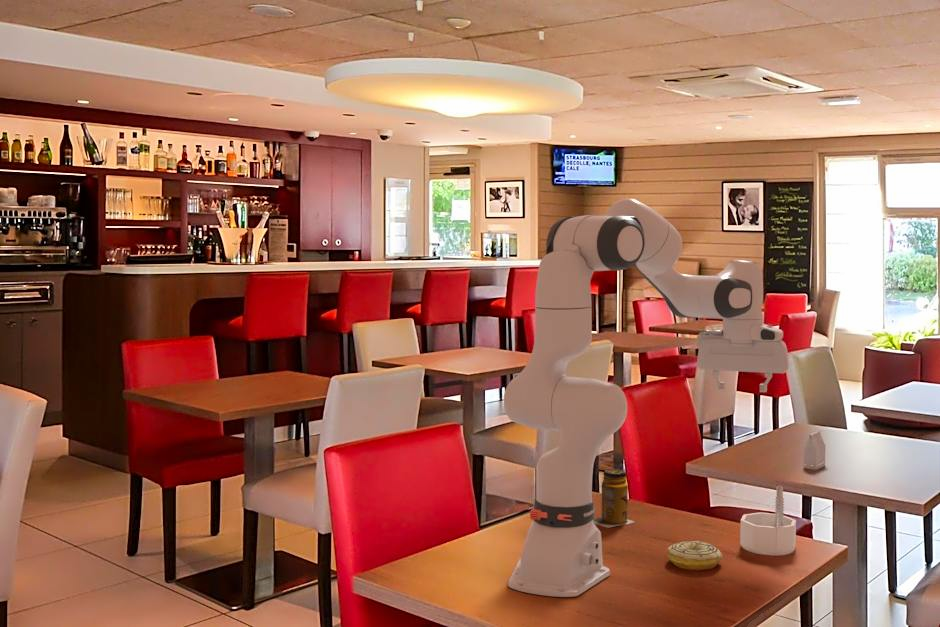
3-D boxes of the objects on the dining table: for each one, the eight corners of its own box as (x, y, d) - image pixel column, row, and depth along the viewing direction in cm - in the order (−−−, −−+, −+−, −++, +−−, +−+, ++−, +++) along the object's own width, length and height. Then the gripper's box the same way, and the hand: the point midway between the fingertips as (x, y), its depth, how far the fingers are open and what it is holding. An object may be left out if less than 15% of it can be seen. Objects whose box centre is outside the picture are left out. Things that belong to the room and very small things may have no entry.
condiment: (635, 522, 224) (635, 472, 223) (608, 528, 220) (608, 477, 219) (614, 515, 230) (614, 466, 229) (587, 521, 226) (587, 471, 225)
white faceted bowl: (792, 558, 198) (792, 529, 198) (737, 551, 202) (738, 524, 202) (796, 543, 208) (797, 516, 208) (745, 537, 212) (745, 510, 212)
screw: (762, 543, 206) (780, 540, 207) (777, 549, 201) (795, 547, 203) (763, 483, 205) (781, 481, 206) (778, 488, 200) (796, 486, 202)
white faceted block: (825, 465, 280) (825, 431, 279) (816, 469, 275) (816, 435, 274) (812, 463, 282) (813, 430, 282) (803, 468, 277) (804, 433, 277)
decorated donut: (730, 563, 196) (731, 545, 196) (704, 576, 188) (705, 558, 188) (685, 552, 203) (685, 534, 203) (658, 564, 195) (658, 546, 195)
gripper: (694, 330, 221) (693, 390, 222) (787, 333, 213) (786, 395, 214) (699, 328, 227) (698, 386, 228) (790, 331, 219) (789, 391, 220)
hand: (741, 390), depth 221 cm, fingers open, 8 cm apart
